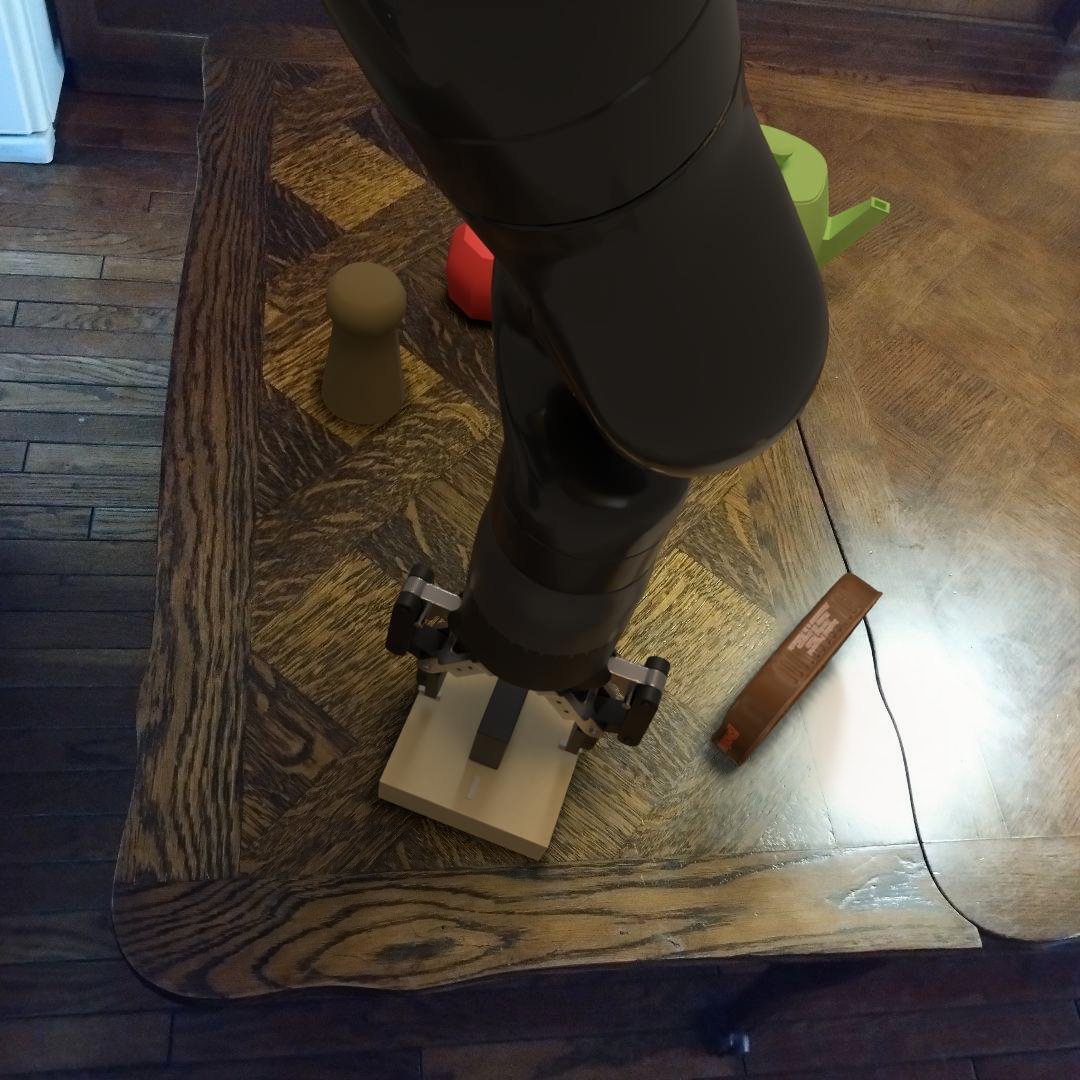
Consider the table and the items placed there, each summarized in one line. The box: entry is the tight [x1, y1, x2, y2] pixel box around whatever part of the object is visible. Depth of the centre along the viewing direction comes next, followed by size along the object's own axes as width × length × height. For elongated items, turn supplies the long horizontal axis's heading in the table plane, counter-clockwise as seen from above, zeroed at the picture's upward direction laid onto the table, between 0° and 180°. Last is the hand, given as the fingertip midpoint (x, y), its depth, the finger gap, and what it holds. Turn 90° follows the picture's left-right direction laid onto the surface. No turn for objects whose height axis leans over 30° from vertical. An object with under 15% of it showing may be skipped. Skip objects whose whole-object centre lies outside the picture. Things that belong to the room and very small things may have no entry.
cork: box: [320, 261, 408, 425], centre depth 67 cm, size 6×6×11 cm
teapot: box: [759, 123, 891, 270], centre depth 80 cm, size 20×13×13 cm
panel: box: [377, 672, 584, 861], centre depth 59 cm, size 12×10×3 cm
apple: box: [444, 221, 494, 323], centre depth 75 cm, size 8×8×8 cm
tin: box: [710, 572, 884, 768], centre depth 61 cm, size 15×3×8 cm, turn 137°
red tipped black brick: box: [469, 678, 529, 770], centre depth 55 cm, size 6×2×5 cm, turn 161°
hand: (505, 710), depth 56 cm, fingers open, 8 cm apart
